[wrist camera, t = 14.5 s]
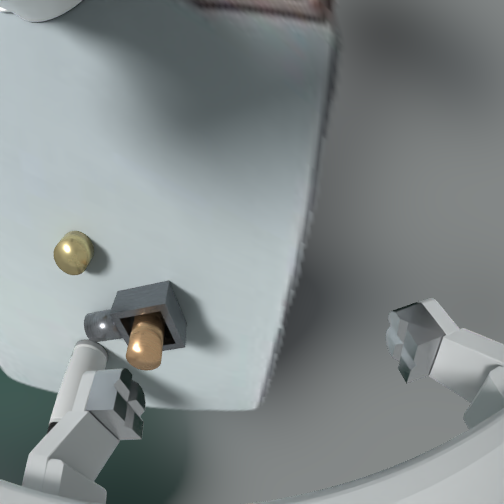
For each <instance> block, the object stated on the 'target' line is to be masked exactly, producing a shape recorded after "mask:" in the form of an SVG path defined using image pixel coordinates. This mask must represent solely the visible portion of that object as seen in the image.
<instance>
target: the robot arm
mask: <svg viewBox="0 0 504 504" xmlns="http://www.w3.org/2000/svg"><path fill="white" fill-rule="evenodd" d="M81 1H82V0H0V12H12V13H14V14H16V15H17V16H18V17H20V18H21V19H23V20H26V21H29V22H42V21H47V20H50V19H53V18H55V17H58V16H60V15H62V14H64V13H65V12H67V11H69V10H70V9H72V8H73V7H75V6H76V5H77V4H79V3H80V2H81ZM388 321H389V323H390V325H391V326H390V327H389V328H388V330H387V331H386V344H387V348H388V351H389V353H390V355H391V357H392V358H393V359H395V360H397V361H399V366H398V369H399V371H400V373H401V375H402V376H403V378H404V380H405V382H406V383H410V382H412V381H415V380H417V379H420V378H423V377H426V376H428V375H429V376H430V377H431V378H433V379H434V380H436V381H437V382H439V383H440V384H442V385H444V386H445V387H447V388H448V389H450V390H451V391H453V392H454V393H456V394H458V395H459V396H461V397H463V398H464V399H466V400H467V401H469V402H470V403H471V404H470V406H469V407H468V409H467V410H466V412H465V413H464V416H463V420H464V421H465V423H466V425H467V427H468V429H469V430H467V431H465V432H464V433H462V434H460V435H458V436H457V437H455V438H453V439H451V440H449V441H447V442H445V443H443V444H441V445H439V446H437V447H435V448H433V449H431V450H429V451H427V452H425V453H423V454H421V455H419V456H416V457H414V458H412V459H410V460H407V461H405V462H402V463H400V464H398V465H395V466H393V467H390V468H387V469H385V470H382V471H380V472H377V473H374V474H371V475H368V476H366V477H363V478H359V479H356V480H353V481H350V482H347V483H343V484H340V485H337V486H333V487H330V488H326V489H322V490H318V491H314V492H310V493H306V494H301V495H296V496H291V497H286V498H281V499H275V500H270V501H263V502H257V503H249V504H504V344H501V343H499V342H497V341H494V340H492V339H489V338H487V337H485V336H482V335H480V334H477V333H475V332H472V331H470V330H468V329H465V328H461V329H459V327H458V326H457V325H456V324H455V322H453V320H452V319H451V317H450V316H449V315H448V314H447V313H446V312H445V310H444V309H443V308H442V307H441V305H440V304H439V303H438V302H437V301H436V300H435V299H434V298H432V297H430V298H428V299H425V300H422V301H419V302H416V303H413V304H410V305H407V306H404V307H402V308H398V309H396V310H393V311H391V312H390V313H389V317H388ZM144 411H145V396H144V392H143V390H142V388H141V386H140V385H139V384H138V383H136V382H135V381H133V380H132V374H131V373H130V371H129V370H128V369H126V368H122V369H109V370H96V371H86V372H85V373H84V374H83V375H82V378H81V381H80V385H79V388H78V391H77V395H76V398H75V402H74V405H73V409H72V411H68V412H67V413H66V414H65V415H64V416H63V418H62V419H61V420H60V421H59V422H58V423H57V424H56V425H55V426H54V427H53V428H52V429H51V430H50V432H49V433H48V434H47V435H46V436H45V437H44V438H43V439H42V440H41V442H39V444H38V445H37V446H36V447H35V448H34V449H33V450H32V451H31V452H30V453H29V457H28V461H27V465H26V469H25V473H24V478H23V483H22V486H19V485H16V484H13V483H10V482H7V481H4V480H1V479H0V504H106V493H107V491H106V490H105V489H104V488H103V487H101V486H99V485H98V484H96V483H95V482H94V480H95V478H96V477H97V475H98V474H99V472H100V471H101V469H102V468H103V466H104V465H105V463H106V461H107V460H108V458H109V457H110V455H111V454H112V452H113V450H114V449H115V448H116V446H117V444H118V443H119V440H133V439H142V431H143V423H144V422H143V420H142V419H141V417H140V416H141V414H142V413H143V412H144Z"/></svg>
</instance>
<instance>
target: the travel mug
mask: <svg viewBox="0 0 504 504" xmlns="http://www.w3.org/2000/svg"><path fill="white" fill-rule="evenodd" d="M107 360H108V355H107V352H106V350H105V349H104V348H103V347H102V346H101V345H99V344H98V343H96V342H92V341H90V340H81V341H79V342H77V343H76V345H75V347H74V350H73V353H72V355H71V358H70V361H69V364H68V366H67V369H66V372H65V375H64V378H63V381H62V384H61V387H60V390H59V393H58V396H57V399H56V402H55V406H54V409H53V412H52V415H51V419H50V422H49V427H48V431H47V434H48V433H49V432H50V430H51V429H52V428H53V427H54V426H55V425H56V424H57V423H58V422H59V421H60V420H61V419H62V418H63V416H64V415H65V414H66V413H67V412H68V411H72V409H73V405H74V402H75V398H76V395H77V391H78V388H79V385H80V381H81V378H82V375H83V374H84V373H85V372H86V371H96V370H105V367H106V363H107Z"/></svg>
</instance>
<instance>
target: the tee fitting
mask: <svg viewBox="0 0 504 504" xmlns="http://www.w3.org/2000/svg"><path fill="white" fill-rule="evenodd" d="M158 311H161V313H162V316H163V318H164V320H165V330H164V339H163V348H162V351H165V350H171V349H177V348H184V347H185V341H186V325H187V323H186V321H185V318H184V316H183V314H182V311H181V309H180V306H179V304H178V302H177V299H176V297H175V294H174V292H173V289H172V287H171V284H170V282H169V281H165V282H160V283H155V284H151V285H146V286H141V287H136V288H132V289H127V290H122V291H118V292H117V295H116V297H115V300H114V303H113V305H112V308H111V309H110V310H105V311H100V312H94V313H89V314H87V315H86V316H85V320H84V328H85V332H86V335H87V337H88V338H89V340H90V341H92V342H99V341H107V340H114V339H121V338H124V340H125V342H126V343H127V345H128V343H129V339H130V335H131V330H132V326H133V322H134V318H135V316H137V315H142V314H148V313H153V312H158Z"/></svg>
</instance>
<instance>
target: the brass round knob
mask: <svg viewBox="0 0 504 504" xmlns="http://www.w3.org/2000/svg"><path fill="white" fill-rule="evenodd" d="M93 254H94V247H93V244H92V242H91V240H90V239H89V238H88V237H87V236H86V235H85V234H84V233H82V232H79V231H71V232H68V233H67V234H66V235H65V236H64V237H63V238H62V239H61V241H60V242H59V243H58V244H57V246H56V247H55V249H54V259H55V262H56V264H57V266H58V267H59V268H60V269H61V270H62V271H63V272H65V273H67V274H70V275H79V274H81V273H83V272H84V271H85V269H86V267H87V266H88V264H89V262H90V261H91V259H92V257H93Z"/></svg>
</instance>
